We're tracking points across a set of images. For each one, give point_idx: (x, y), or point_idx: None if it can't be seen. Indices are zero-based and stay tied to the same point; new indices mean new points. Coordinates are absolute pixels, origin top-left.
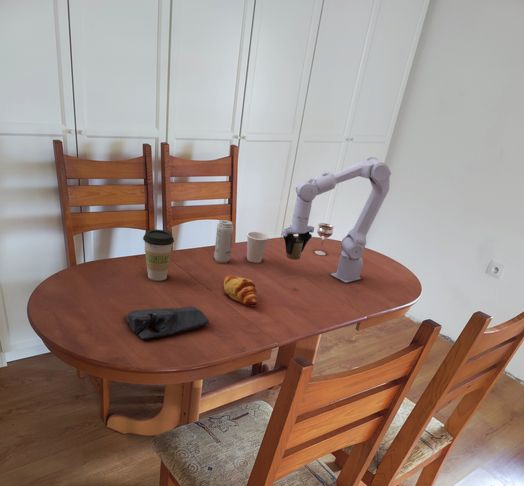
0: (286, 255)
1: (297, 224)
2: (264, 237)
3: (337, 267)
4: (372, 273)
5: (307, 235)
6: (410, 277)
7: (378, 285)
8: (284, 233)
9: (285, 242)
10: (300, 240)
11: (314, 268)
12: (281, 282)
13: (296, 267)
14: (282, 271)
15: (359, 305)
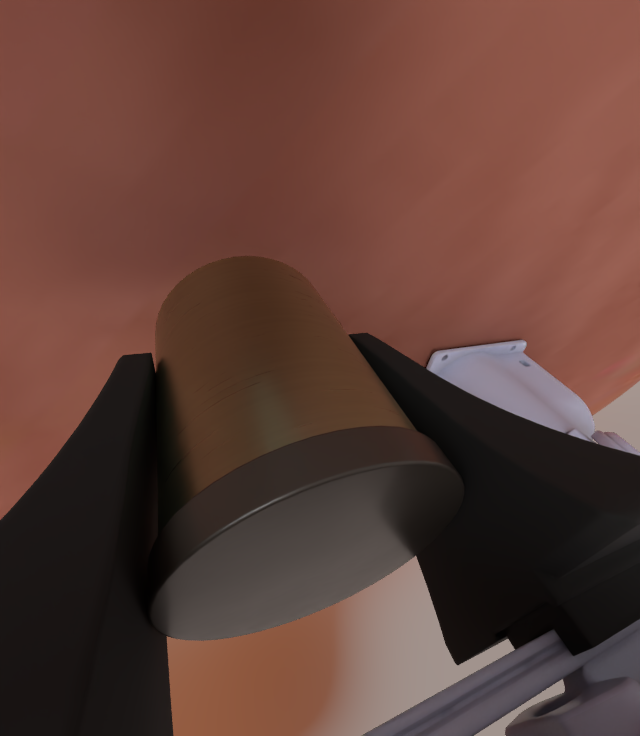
0: (173, 290)
1: None
2: None
3: (475, 386)
4: (565, 373)
5: (465, 659)
6: (593, 413)
7: None
8: None
9: (24, 511)
10: (324, 595)
11: (453, 251)
12: (20, 357)
13: (366, 176)
14: (173, 185)
15: None
